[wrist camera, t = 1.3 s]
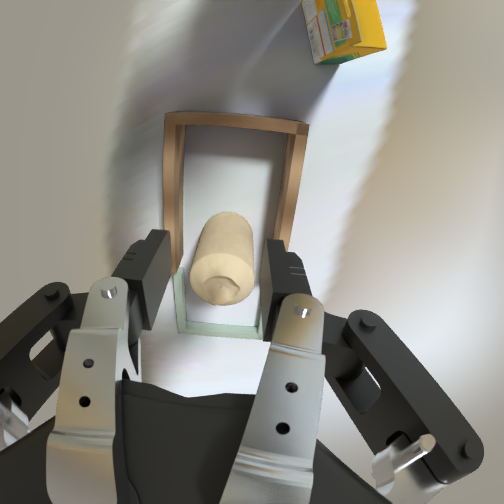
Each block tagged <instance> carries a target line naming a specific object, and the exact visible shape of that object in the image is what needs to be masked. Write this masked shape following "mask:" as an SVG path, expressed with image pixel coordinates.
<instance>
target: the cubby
mask: <svg viewBox="0 0 504 504" xmlns="http://www.w3.org/2000/svg"><path fill="white" fill-rule="evenodd" d="M185 125H207V126H224V127H238V128H249V129H259V130H268V131H276V132H284V133H289V134H288V141H287V148H286V155H285V162H284V169H283V176H282V182H281V189H280V196H279V202H278V209H277V215H276V222H275V228H274V234H273V239H279V240H283V241H284V245H285V250H286V252H287V251H288V246H289V241H290V236H291V230H292V225H293V220H294V214H295V209H296V203H297V198H298V192H299V186H300V180H301V174H302V168H303V162H304V156H305V150H306V144H307V137H308V131H309V124H306V123H303V122H301V121H295V120H288V119H281V118H273V117H265V116H256V115H246V114H233V113H218V112H192V111H175V112H169V113H165V120H164V148H163V204H164V230H169V231H170V235H171V256H172V270H171V274H176V273H177V270H178V268H179V265H180V262H181V259H182V257H183V168H184V142H185Z"/></svg>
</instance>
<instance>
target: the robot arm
mask: <svg viewBox="0 0 504 504" xmlns="http://www.w3.org/2000/svg"><path fill="white" fill-rule="evenodd" d="M171 270H172V256H171V235H170V231H169V230H156V229H152V230H151V232H150V233H149V235H148V236H147V238H146V239H145V240H138V241H137V242H135V243H134V244H132V245H131V246H130V248H129V249H128V251H127V252H126V254H125V255H124V257H123V260H121V261H120V263H119V264H118V266H117V268H116V269H115V271H114V272H113V274H112V275H111V277H107V278H103V279H101V280H98V281H97V282H95V283H94V284H93V285H92V287H91V288H90V291H89V292H88V293H78V294H71V293H70V290H69V287H68V286H67V285H66V284H65V283H62V282H53V283H50V284H48V285H45V286H44V287H42V288H41V289H40V290H39V291H37V292H36V293H35V294H34V295H32V296H31V297H30V298H29V299H27V300H26V301H25V302H24V303H23V304H22V305H20V306H19V307H18V308H17V309H16V310H15V311H13V312H12V313H11V314H10V315H9V316H8V317H7V318H6V319H4V320H3V321H2V322H1V323H0V504H426V503H427V502H429V501H430V500H431V499H432V498H433V497H434V496H435V495H436V494H437V493H438V492H440V491H441V490H442V489H443V488H444V487H445V486H447V485H449V484H451V483H453V482H455V481H457V480H459V479H461V478H463V477H464V476H466V475H468V474H470V473H472V472H473V471H475V470H476V469H478V467H479V466H480V465H481V463H482V460H483V457H484V447H483V444H482V442H481V439H480V438H479V436H478V435H477V433H476V432H475V431H474V429H473V428H472V427H471V425H470V424H469V423H468V422H467V420H466V419H465V417H464V416H463V415H462V414H461V412H460V411H459V410H458V408H457V407H456V406H455V405H454V403H453V402H452V401H451V399H450V398H449V397H448V396H447V394H446V393H445V392H444V391H443V390H442V388H441V387H440V386H439V384H438V383H437V382H436V381H435V380H434V378H433V377H432V376H431V375H430V374H429V372H428V371H427V370H426V369H425V368H424V366H423V365H422V364H421V363H420V362H419V361H418V359H417V358H416V357H415V356H414V355H413V354H412V352H411V351H410V350H409V349H408V348H407V347H406V345H405V344H404V343H403V342H402V341H401V340H400V339H399V337H398V336H397V335H396V334H395V333H394V332H393V330H391V328H390V327H389V326H388V325H387V324H386V323H385V322H384V320H383V319H382V318H381V317H380V316H378V315H377V314H375V313H373V312H371V311H368V310H356V311H353V312H352V313H351V314H350V315H349V317H348V319H346V318H342V317H338V316H334V315H331V314H329V313H326V312H325V311H324V307H323V305H322V304H321V302H320V301H319V300H317V299H316V298H314V297H313V296H312V293H311V290H310V286H309V283H308V280H307V276H306V273H305V270H304V266H303V263H302V260H301V259H300V258H299V257H298V256H297V255H296V253H295V252H286V250H285V245H284V241H283V240H279V239H267V238H266V239H265V242H264V248H263V255H262V262H261V269H260V281H259V283H260V300H261V316H262V332H263V341H266V342H271V345H270V348H269V352H268V355H267V359H266V362H265V366H264V369H263V373H262V376H261V380H260V383H259V386H258V390H257V393H256V395H254V394H233V393H223V394H216V395H208V396H200V397H190V398H188V397H183V396H180V395H178V394H175V393H172V392H170V391H167V390H165V389H162V388H160V387H157V386H155V385H152V384H148V383H142V380H141V341H140V337H139V336H140V333H141V331H142V329H143V330H150V331H151V330H152V327H153V324H154V321H155V318H156V315H157V312H158V309H159V306H160V303H161V300H162V298H163V295H164V292H165V289H166V286H167V284H168V281H169V278H170V275H171ZM49 330H50V332H51V334H52V336H53V338H54V339H53V340H52V341H51V342H50V343H49V344H48V345H47V346H46V347H45V348H44V349H43V350H42V351H41V352H40V353H39V354H38V355H37V356H36V357H35V358H34V359H33V360H32V361H31V360H30V357H29V353H30V350H31V348H32V347H33V346H34V345H35V344H36V342H37V341H39V340H40V338H42V337H43V336H44V335H45V334H46V333H47V332H48V331H49ZM365 367H367V368H368V370H369V371H370V372H371V374H372V375H373V376H374V378H375V379H376V381H377V382H378V384H379V385H380V388H381V390H380V388H379V387H378V385H377V384H376V383H375V381H374V380H373V379H372V377H371V376H370V375H369V373H368V372H367V371H366V369H365ZM324 376H325V378H326V380H327V381H328V383H329V384H330V386H331V388H332V389H333V391H334V392H335V394H336V396H337V397H338V399H339V400H340V402H341V403H342V405H343V407H344V408H345V410H346V411H347V413H348V414H349V416H350V418H351V419H352V421H353V422H354V424H355V425H356V427H357V428H358V430H359V432H360V433H361V435H362V436H363V438H364V440H365V441H366V442H367V444H368V446H369V447H370V449H371V451H372V452H373V454H374V455H375V458H374V460H373V463H372V476H373V478H374V479H375V480H376V490H375V489H374V488H373V487H372V486H370V485H369V484H368V483H367V482H365V481H364V480H363V479H362V478H360V477H359V476H358V475H357V474H356V473H355V472H353V471H352V470H351V469H350V468H349V467H348V466H347V465H345V464H344V463H343V462H342V461H341V460H340V459H339V458H337V457H336V456H335V455H334V454H333V453H332V452H331V451H330V450H329V449H328V448H326V447H325V446H324V445H323V444H322V443H321V442H320V441H319V440H318V439H317V432H318V424H319V418H320V410H321V401H322V392H323V383H324ZM58 386H59V392H58V399H57V407H56V415H55V416H54V417H52V418H51V419H49V420H48V421H46V422H45V423H43V424H42V425H40V426H39V427H37V428H36V429H34V430H33V431H30V429H29V428H28V426H29V421H30V420H31V418H32V417H33V416H34V415H35V414H36V412H37V411H38V410H39V409H40V408H41V406H42V405H43V404H44V403H45V402H46V400H47V399H48V398H49V397H50V395H51V394H52V393H53V392H54V391H55V390H56V389H57V387H58Z"/></svg>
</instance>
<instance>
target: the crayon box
mask: <svg viewBox="0 0 504 504" xmlns="http://www.w3.org/2000/svg"><path fill="white" fill-rule="evenodd" d="M301 5H302V8H303V12H304V16H305V21H306V25H307V30H308V35H309V40H310V45H311V49H312V55H313V60H314V64H342V63H344V62H347V61H350V60H353V59H356V58H359V57H363V56H366V55H369V54H372V53H376V52H379V51H383V50H386V49H387V46H386V41H385V36H384V32H383V27H382V23H381V19H380V15H379V11H378V7H377V3H376V0H302V2H301Z"/></svg>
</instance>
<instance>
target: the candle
mask: <svg viewBox="0 0 504 504" xmlns="http://www.w3.org/2000/svg"><path fill="white" fill-rule="evenodd" d="M254 283H255V274H254V250H253V233H252V229H251V227H250V224H249V223H248V222H247V220H246V219H245V218H243V217H242V216H240V215H238V214H236V213H232V212H222V213H218V214H216V215H214V216H212V217H211V218H210V219H209V220H208V221H207V223H206V224H205V226H204V228H203V231H202V234H201V237H200V241H199V244H198V247H197V251H196V254H195V257H194V261H193V264H192V268H191V271H190V284H191V287H192V289H193V290H194V292H195V293H196V294H197V295H198V296H199V297H200V298H202V299H203V300H205V301H207V302H209V303H210V304H212V305H232V304H236V303H239V302H241V301H243V300H244V299H245V298H247V297H248V296H249V295H250V293H251V292H252V290H253V288H254Z"/></svg>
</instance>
